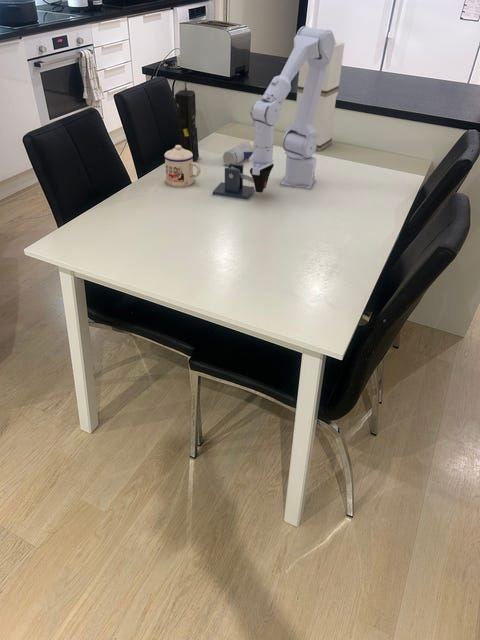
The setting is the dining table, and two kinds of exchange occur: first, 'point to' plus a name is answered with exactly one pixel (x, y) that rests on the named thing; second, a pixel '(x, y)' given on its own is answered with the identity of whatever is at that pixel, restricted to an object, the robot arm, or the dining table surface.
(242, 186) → the bracket
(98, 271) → the dining table surface
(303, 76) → the tall banded cream box
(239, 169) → the lever
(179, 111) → the portable radio
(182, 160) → the teacup with lid
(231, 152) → the energy drink
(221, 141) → the dining table surface
